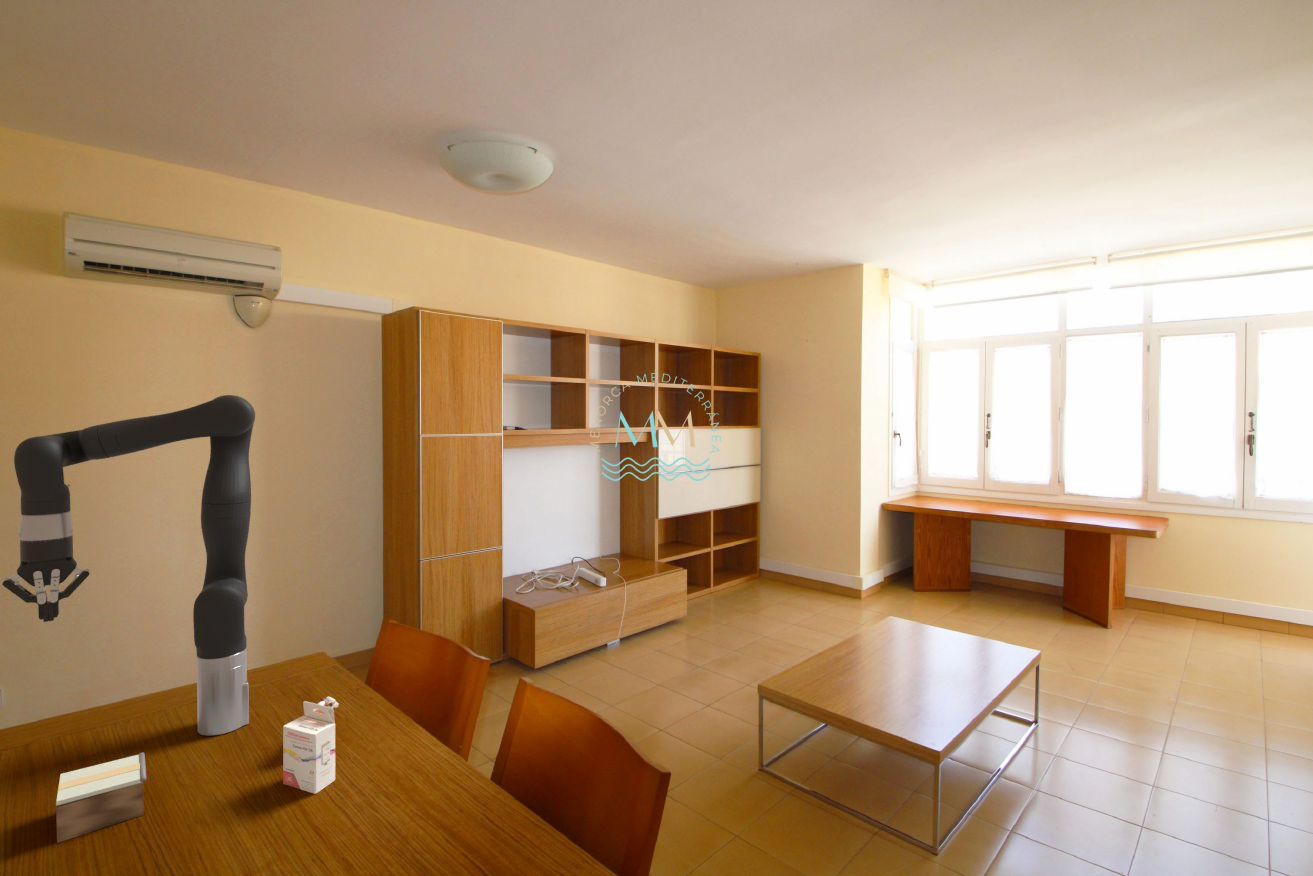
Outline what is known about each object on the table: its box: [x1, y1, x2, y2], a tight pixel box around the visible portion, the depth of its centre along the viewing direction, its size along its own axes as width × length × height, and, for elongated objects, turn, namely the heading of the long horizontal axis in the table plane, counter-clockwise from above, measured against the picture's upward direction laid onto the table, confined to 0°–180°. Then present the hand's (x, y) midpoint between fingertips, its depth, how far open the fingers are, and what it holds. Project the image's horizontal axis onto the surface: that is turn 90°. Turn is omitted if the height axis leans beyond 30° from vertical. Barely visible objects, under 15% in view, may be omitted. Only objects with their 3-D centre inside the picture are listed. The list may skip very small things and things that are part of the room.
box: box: [55, 782, 145, 844], centre depth 108 cm, size 11×10×6 cm
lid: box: [55, 752, 147, 807], centre depth 108 cm, size 12×10×1 cm
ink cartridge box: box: [282, 700, 336, 795], centre depth 118 cm, size 9×5×15 cm, turn 71°
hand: (48, 620), depth 123 cm, fingers closed
